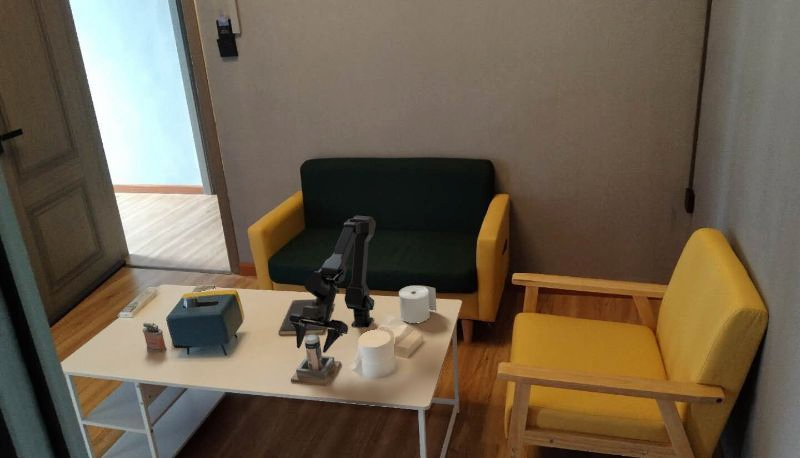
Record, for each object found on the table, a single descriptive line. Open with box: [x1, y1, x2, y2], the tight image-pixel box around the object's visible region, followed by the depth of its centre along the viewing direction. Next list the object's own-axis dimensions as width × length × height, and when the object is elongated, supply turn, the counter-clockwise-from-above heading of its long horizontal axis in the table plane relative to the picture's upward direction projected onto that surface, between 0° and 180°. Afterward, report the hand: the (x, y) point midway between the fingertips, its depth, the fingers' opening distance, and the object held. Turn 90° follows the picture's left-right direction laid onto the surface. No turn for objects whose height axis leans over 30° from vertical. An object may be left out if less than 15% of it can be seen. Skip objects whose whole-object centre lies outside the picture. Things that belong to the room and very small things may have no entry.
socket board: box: [290, 355, 342, 387], centre depth 194 cm, size 12×12×4 cm
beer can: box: [303, 333, 324, 371], centre depth 193 cm, size 5×5×12 cm
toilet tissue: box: [398, 285, 437, 324], centre depth 223 cm, size 11×12×10 cm
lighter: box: [142, 322, 167, 353], centre depth 214 cm, size 8×3×10 cm, turn 65°
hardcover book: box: [278, 298, 325, 336], centre depth 229 cm, size 16×23×2 cm
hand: (310, 350), depth 191 cm, fingers open, 9 cm apart
